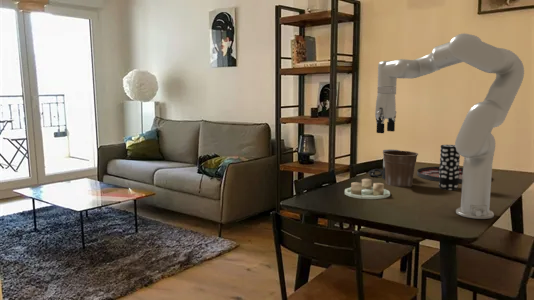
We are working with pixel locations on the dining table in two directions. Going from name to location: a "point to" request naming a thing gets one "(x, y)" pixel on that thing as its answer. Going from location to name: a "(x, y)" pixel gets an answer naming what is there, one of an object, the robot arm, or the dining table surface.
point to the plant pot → (399, 167)
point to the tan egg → (356, 188)
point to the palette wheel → (435, 173)
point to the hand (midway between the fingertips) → (385, 132)
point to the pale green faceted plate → (367, 194)
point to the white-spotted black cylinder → (449, 168)
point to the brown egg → (378, 189)
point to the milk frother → (372, 172)
